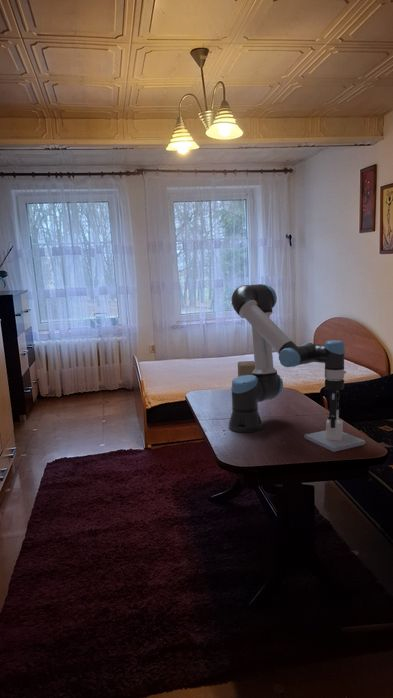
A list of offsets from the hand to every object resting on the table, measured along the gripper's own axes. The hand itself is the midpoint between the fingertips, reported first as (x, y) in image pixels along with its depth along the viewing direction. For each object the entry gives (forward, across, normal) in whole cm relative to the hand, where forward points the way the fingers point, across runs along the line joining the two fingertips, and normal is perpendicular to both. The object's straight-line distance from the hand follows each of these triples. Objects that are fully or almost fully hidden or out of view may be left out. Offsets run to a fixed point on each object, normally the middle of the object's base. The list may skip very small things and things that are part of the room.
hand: (334, 429), depth 188 cm
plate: (+5, 0, 0) cm, 5 cm away
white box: (+3, 0, 0) cm, 3 cm away
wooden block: (+5, +64, +52) cm, 82 cm away
